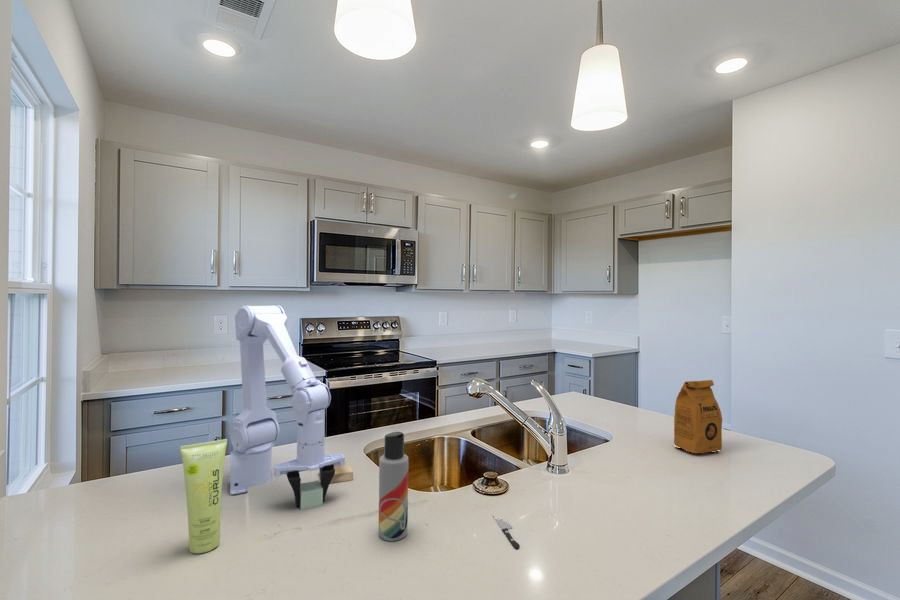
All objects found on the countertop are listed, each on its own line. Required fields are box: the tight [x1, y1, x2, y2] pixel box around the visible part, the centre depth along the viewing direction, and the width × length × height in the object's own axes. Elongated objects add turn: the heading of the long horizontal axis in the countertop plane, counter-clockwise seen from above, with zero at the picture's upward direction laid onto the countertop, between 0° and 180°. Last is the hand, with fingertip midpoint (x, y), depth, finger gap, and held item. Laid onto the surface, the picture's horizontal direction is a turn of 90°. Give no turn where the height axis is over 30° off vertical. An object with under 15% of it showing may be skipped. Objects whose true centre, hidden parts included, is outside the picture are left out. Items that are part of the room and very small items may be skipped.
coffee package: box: [673, 379, 723, 454], centre depth 134 cm, size 10×12×22 cm
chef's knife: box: [494, 518, 520, 550], centre depth 90 cm, size 19×1×3 cm
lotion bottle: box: [378, 431, 409, 542], centre depth 85 cm, size 6×6×20 cm
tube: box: [179, 438, 228, 554], centre depth 79 cm, size 6×5×20 cm
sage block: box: [299, 480, 324, 511], centre depth 94 cm, size 4×4×5 cm
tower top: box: [318, 461, 354, 484], centre depth 107 cm, size 7×7×2 cm
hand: (310, 502), depth 94 cm, fingers closed on sage block, 4 cm apart
